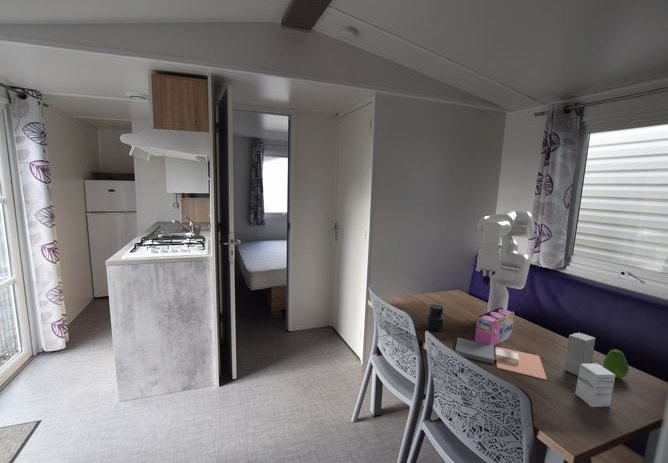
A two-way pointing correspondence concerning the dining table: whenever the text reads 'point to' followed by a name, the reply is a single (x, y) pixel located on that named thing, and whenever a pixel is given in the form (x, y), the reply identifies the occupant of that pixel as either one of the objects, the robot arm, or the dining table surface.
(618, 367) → the avocado
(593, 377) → the supplement box
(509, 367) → the mat
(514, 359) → the tile
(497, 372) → the dining table surface
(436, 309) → the ink bottle
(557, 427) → the dining table surface
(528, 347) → the dining table surface
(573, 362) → the skincare box
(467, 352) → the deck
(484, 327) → the gum box
